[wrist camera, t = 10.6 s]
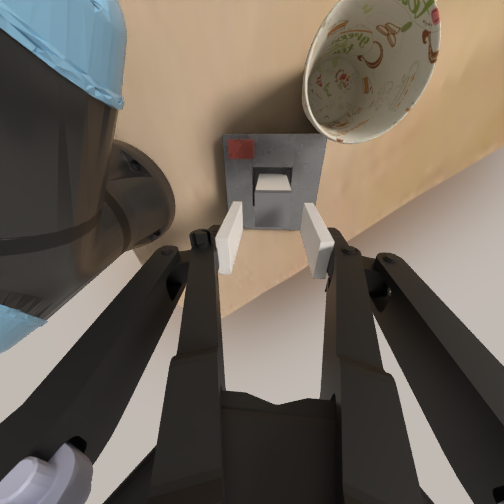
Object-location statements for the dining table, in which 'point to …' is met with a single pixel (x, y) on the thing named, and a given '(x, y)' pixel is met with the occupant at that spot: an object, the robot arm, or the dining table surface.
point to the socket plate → (273, 169)
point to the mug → (369, 66)
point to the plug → (273, 201)
